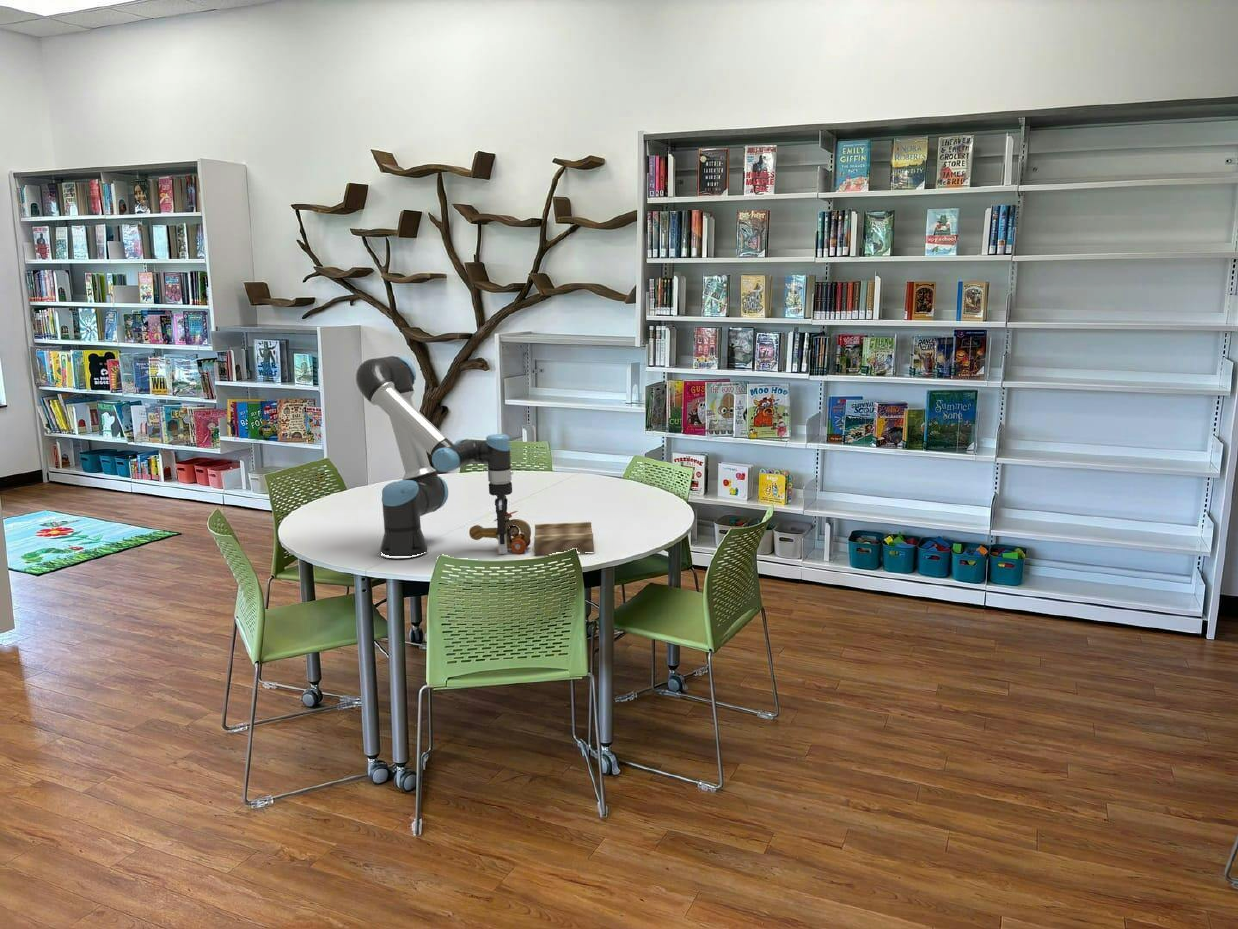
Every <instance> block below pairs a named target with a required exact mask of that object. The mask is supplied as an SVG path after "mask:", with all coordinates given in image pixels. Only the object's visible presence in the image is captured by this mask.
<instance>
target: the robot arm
mask: <svg viewBox="0 0 1238 929" xmlns="http://www.w3.org/2000/svg"><path fill="white" fill-rule="evenodd" d="M355 376H356V377H355V382H356V385H357V388H358V390H359V391H360V392H361V394H362V396H363V397H364V398H365V399H366V400H367V401H368V402H369V403H371V405H373V406H378V407H379V408H380V409H381V410H382V411H384V413H385V414H387V416H389V420H390V423H391V427H392V430H393V433H394V437H395V442H396V445H397V449H398V453H399V455H400V459H401V462H402V466H403V470H404V475H403V477H402V480H397V481H392V482H390V483H387V484H386V485H384V487H383V488H382V490H381V503H382V513H383V514H382V516H383V526H384V527H383V528H384V532H383V537H382V541H381V545H380V548H379V549H380V550H379V551H380V553H381V552H382V553H383V554H385V555H389V556H412V555H417V554H421V553H424V552H427V550H428V543H427V540H426V539H425V536H424V533H423V531H422V526H421V517H422V516H425V515H427V514H429V513H433V512H436V511H437V510H439V509H441V508H442V507H443V506H444V505H445V504H446V503H447V500H448V497H449V488H448V485H447V482H446V480H444V479H443V478H442V477H441V476H439V475H438V473H437V471H439V472H441V473H446V472H453V471H455V470H456V469H459V468H462V467H467V466H469V465H471V464H487V478H488V479H487V480H488V482H489V483H488V493H489V495H491V496H496V498H495V499H494V506H495V513H496V519H497V520H496V523H497V524H496V525H497V527H496V528H497V530H498V531H497V533H496V535H498V540H497V545H498V555H501V554H508V549H507V538H506V526H505V522H506V521H507V520H505V514H506V513H507V511H508V500H509V499H508V498H507V496H508V495H511V494H512V493H513V483H512V482H511V481H512V480H513V479H512V475H513V474H514V471H512V465H511V461H512V460H511V450H512V449H511V444H510V443H511V441H510V437H509V435H507V434H504V433H494V434H489V435H486V437H485V438H486V439H485V440H482V439H481V440H477V439H467V438H466V439H458V440H456V441H455V443H453V442H452V441H451V440H450V439H449V438H448V437H447V436H445V435H444V434H443V433H442V432H441V431H440V430H439V429H438V428H437V427H436V426H435V425H434V424H433V423H432V422H431V421H430V420H429V419H427V417H425V416H424V414H422V413H421V412H420V411H419V410H418V409H417V408H416V407H415V406H414V403H413V400H412V397H413V395H414V394H415V390H414V385H415V383H416V382H415V381H416V380H417V372H416V370H415V367H414V364H412V363H411V361H410V360H409V359H407V358H405V357H403V356H399V355H398V356H397V355H390V356H385V357H379V358H378V357H377V358H370V359H367V360H365V361H363V362H362V363H361V364H360V365H359V367H358V369H357V370H356V375H355ZM427 453H428V454H429V455H430V456H431V462H432V464H433V467H432V466H431V463H430V460H429V458H428V454H427ZM428 551H429V550H428ZM427 553H428V552H427Z"/></svg>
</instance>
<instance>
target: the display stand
mask: <svg viewBox="0 0 1238 929" xmlns="http://www.w3.org/2000/svg"><path fill="white" fill-rule="evenodd" d="M592 529H593V528H592V522H591V521H586V522H585V521H584V522H583V521H581V522H561V523H560V522H557V523H535V524H534V536H533V540H534V546H533V547H534V557H539V556H541V557H542V556H544V557H545V555H547V556H550V555H549V554H552V553H556V552H564V551H568V550H570V549H572V548H577V551H578V552H580V553H585V552H594V553H595V550H594V546H595V545H594V533H593V530H592Z"/></svg>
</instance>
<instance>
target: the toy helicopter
mask: <svg viewBox="0 0 1238 929" xmlns="http://www.w3.org/2000/svg"><path fill="white" fill-rule="evenodd" d="M517 512H518V510H514V511H512V512H510V513H509V512H507V513H506V514H505V520H507V521H506V522H505V526H506V538H507V550H509V549H510V550H511V551H512V552H513V553H514V554H522V553H523V552H525V550H526V549H527V548H528V547H529V546H531V542H532V541H531V535H532V530H531V528H532V527H531V526H530V524H529V523H528V522H527V521H526V520H523V519H519V518H513V515H512V514H515V513H517ZM511 518H513V519H511ZM493 522H497V518H495V519H494V520H493ZM497 531H498V530H497V527H482V526H481V525H480V524H479V525H478V524H475V525H473V526H471V527H470V528H469V532H468V534H469V537H470V538H471V540H475V541H479V540H481V539H483V538H485V539H486V538H487V539H496V540H497V541H498V535H496V533H497Z"/></svg>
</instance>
